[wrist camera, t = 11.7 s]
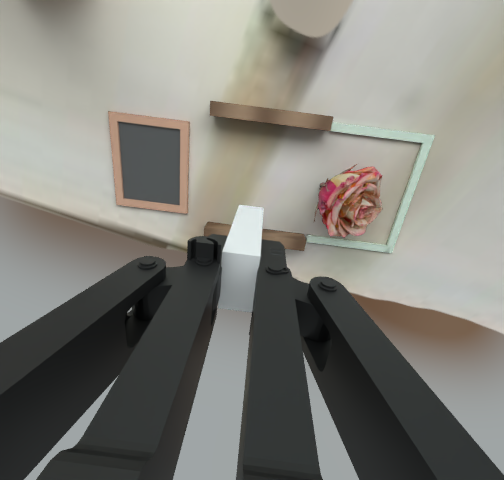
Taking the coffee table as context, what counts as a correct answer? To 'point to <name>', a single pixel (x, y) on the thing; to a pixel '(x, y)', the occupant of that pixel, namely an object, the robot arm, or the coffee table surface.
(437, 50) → the coffee table surface
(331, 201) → the flower
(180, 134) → the framed chalkboard
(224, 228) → the brown slabs
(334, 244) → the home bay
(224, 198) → the coffee table surface
